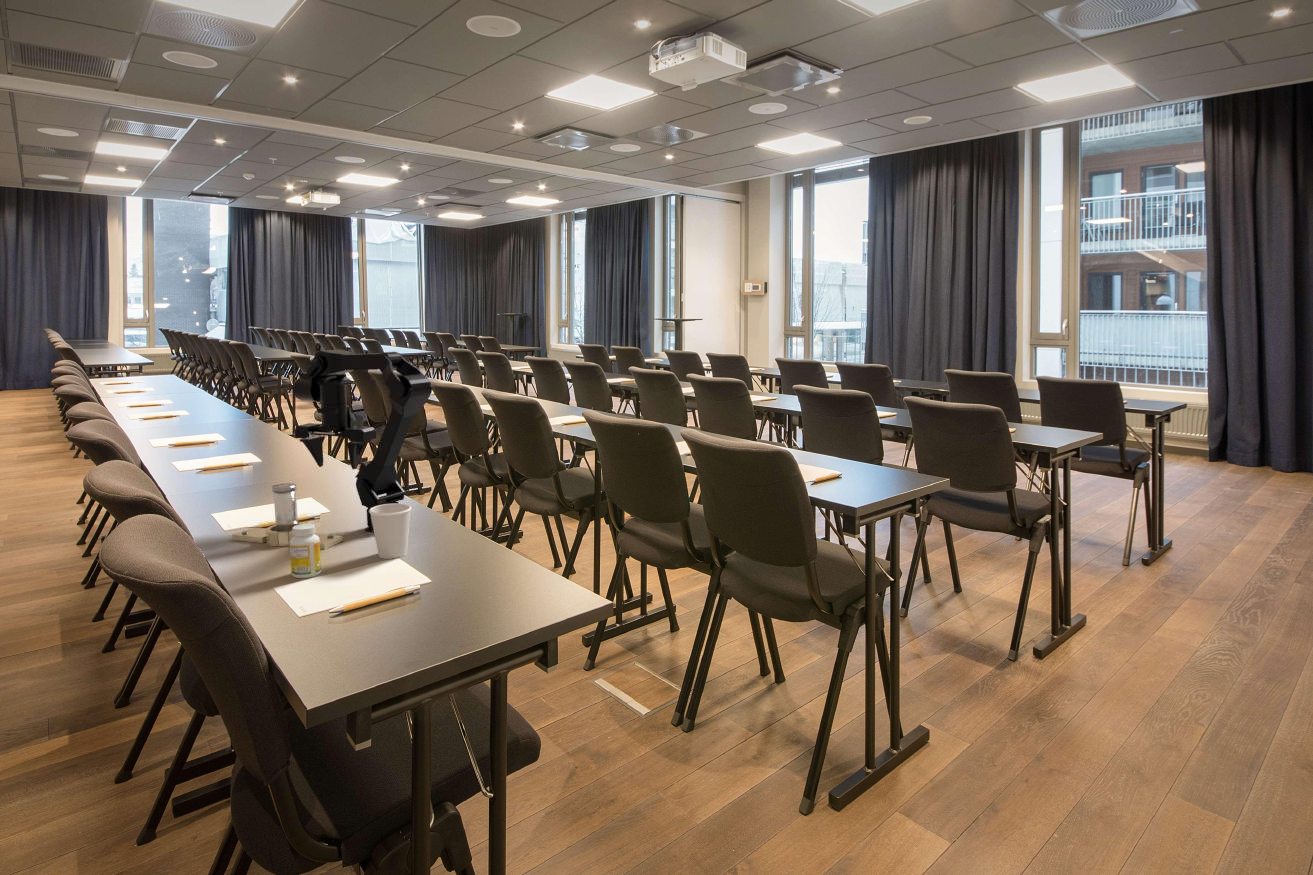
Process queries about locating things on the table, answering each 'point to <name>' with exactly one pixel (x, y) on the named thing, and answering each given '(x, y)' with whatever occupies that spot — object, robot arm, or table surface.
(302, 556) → the supplement bottle
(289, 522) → the grey cylinder
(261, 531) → the hinge
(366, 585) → the table surface
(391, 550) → the dixie cup
